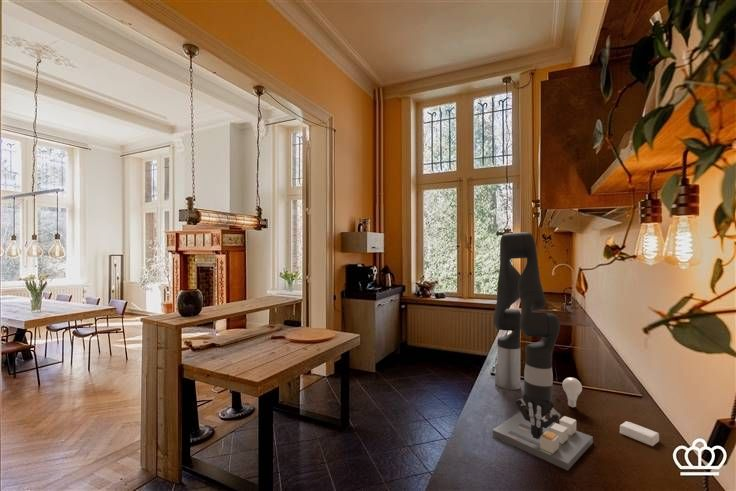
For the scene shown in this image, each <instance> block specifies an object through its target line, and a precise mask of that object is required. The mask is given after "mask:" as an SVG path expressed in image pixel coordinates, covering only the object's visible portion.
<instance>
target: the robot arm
mask: <svg viewBox="0 0 736 491" xmlns="http://www.w3.org/2000/svg"><path fill="white" fill-rule="evenodd" d="M499 241H500V243H499V269H498V270H499V271H498V272H499V273H498V278H497V288H496V289H497V291H496V294H497V295H496V304H495V308H494V314H493V324H494V327H495V329H497V330H499V331H508V332H510V333H509V334H507V335H504V336H499V337H498V338H497V341H496V342H497V344H496V345H497V346H496V347H497V351H496V352H497V353H496V356H497V357H496V362H495V363H494V364H495V365H494V366H495V367H494V368H495V369H494V381H495V382H494V384H495V385H496V386H498V387H499V388H502V389H503V390H509V391H516V390H517V391H518V390H519V389H521V332H522V333H523V334H524V336H527V337H536V338H538V337H539V338H541V339H540V340H539V341H537V342H535V341H534V342H531V343H528V344H526V346H525V366H524V372H523V373H524V374H523V377H524V379H523V392H524V394H523V396H522V397H521V398H519V399H517V400H515V405H516V406H517V408H518V410H519V412H520V411H521V413H522V415H523V417H524V418H525V420H526V421H529V422H530V423H531V434H532V435H533V438H536V439H539V438H540V436H541V435H542V434H543V427H544V428H547V427H548V426H550V425H551V424H552V423H553V422H555V423H556V421H557V420H559V419H561V418H562V413H561V412H558V411H557V410H556V409H555V408H554V406H555V405H554V403H553V401H552V400H553V382H554V377H553V353H554V352H553V351H554V350H555V349H554V348H555V345H556V342H557V338H558V336H559V333H560V329H561V323H560V319H559V317H557V315H556V314H554V313H551V312H536V311H539V310H542V309H544V308H545V307H546V305H547V301H546V297H545V293H544V289H543V286H542V282H541V277H540V270H539V260H538V253H537V246H536V242H535V238H534V236H533V234H532V233H530V232H526V231H523V232H522V231H520V232H506V233H503V234H502V235H501V237H500V240H499ZM513 259H526V265H525V267H524V269H523V271H522V273H521V274H520V272H519V271H518V269H516V267H515V266H514V265H513V264H512V262H511V260H513ZM519 299H520V306H521V309H520V310H521V311H520V310H519V309H516V308H510V307H511V306H512V305H513V304H515V303H516V302H517V301H518V300H519ZM549 413H550V414H549ZM548 414H549V417H550V418H549V419H547V420H548V421H544V419H546V416H547V415H548Z"/></svg>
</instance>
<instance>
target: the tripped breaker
mask: <svg viewBox="0 0 736 491" xmlns="http://www.w3.org/2000/svg"><path fill="white" fill-rule="evenodd" d="M540 448H541V449H544V450H546V451H548V452H550V453H554V452H555V451H556V450H558V449H559V436H557V434H555V433H552V432H550V431H548V432H547V431H546V432H545V433H543V434H542V435H541V436H540Z"/></svg>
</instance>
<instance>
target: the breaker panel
mask: <svg viewBox="0 0 736 491" xmlns="http://www.w3.org/2000/svg"><path fill="white" fill-rule="evenodd" d="M548 420H549V419H547V418H545V419H544V421H548ZM558 420H559V423H557V422H556V421H555V422H553V423H552V424H551V425H550V426H548V427H547V428H544V427H543V433H545V432H546V431H547V432H548V431H550V432H552V433H555V434H557V436H559V449H558V450H556V451H555V452H554V453H550V452H548V451H546V450H544V449H541V448H540V438H539V439H536V438H533V435H532V434H531V423H530V422H529V421H526V420H525V418H524V417H523V415H522V413H521V411H520V410H519V412H517V413H516V414H514V415H512V416H511V417H510V418H508V419H506V421H504V422H502V423H501V424H499V425H497V426H496V427H495V428H493V429H492V437H494V436H495V437H494V438H496V437H497V439H498V438H500V439H501V441H503V440H504V441H503V442H505V443H507V444H509V445H511V446H513V445H514V446H513V447H515V446H516V448H518V449H520V450H522V451H524V452H526V453H529V454H531V455H533V456H535V457H538V458H540V459H542V460H544V461H546V462H548V463H550V464H552V465H554V466H556V467H559V468H561V469H563V470H565V471H569V470H570V469H571V467H573V465H574V464H575V463H576V462H577V461H578V460H579V459H580V458H581V456H583V454H584V453H585V452H587V450H588V449H589V448H590V447H591V446H592V444H593V443H594V441H593V440H594V438H593V437H594V436H591V435H590V434H587V433H584V432H581V431H578V430H577V420H576V419H574V418H571V417H569V416H566V415H564V416H561V417H560V418H559V419H558ZM500 439H499V440H500Z"/></svg>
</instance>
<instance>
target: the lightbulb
mask: <svg viewBox="0 0 736 491" xmlns="http://www.w3.org/2000/svg"><path fill="white" fill-rule="evenodd" d="M562 388H563V391H564V392H565V394H566V397H567V406H569V407H571V408H575V407H577V400H578V397H579V395H580V394H581V392H582V391H583V386H582V383H581V382H580V381H579V380H578V379H577V378H575V377H570V376H569V377H566V378H565V379H564V380H563V381H562Z"/></svg>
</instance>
